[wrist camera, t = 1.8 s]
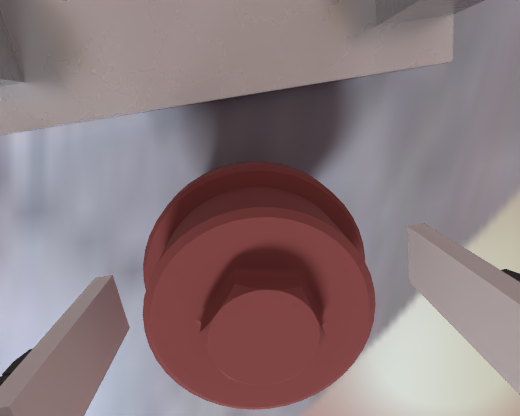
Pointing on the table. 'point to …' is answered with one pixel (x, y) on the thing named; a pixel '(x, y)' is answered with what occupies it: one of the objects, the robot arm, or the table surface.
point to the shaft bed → (199, 51)
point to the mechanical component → (256, 287)
